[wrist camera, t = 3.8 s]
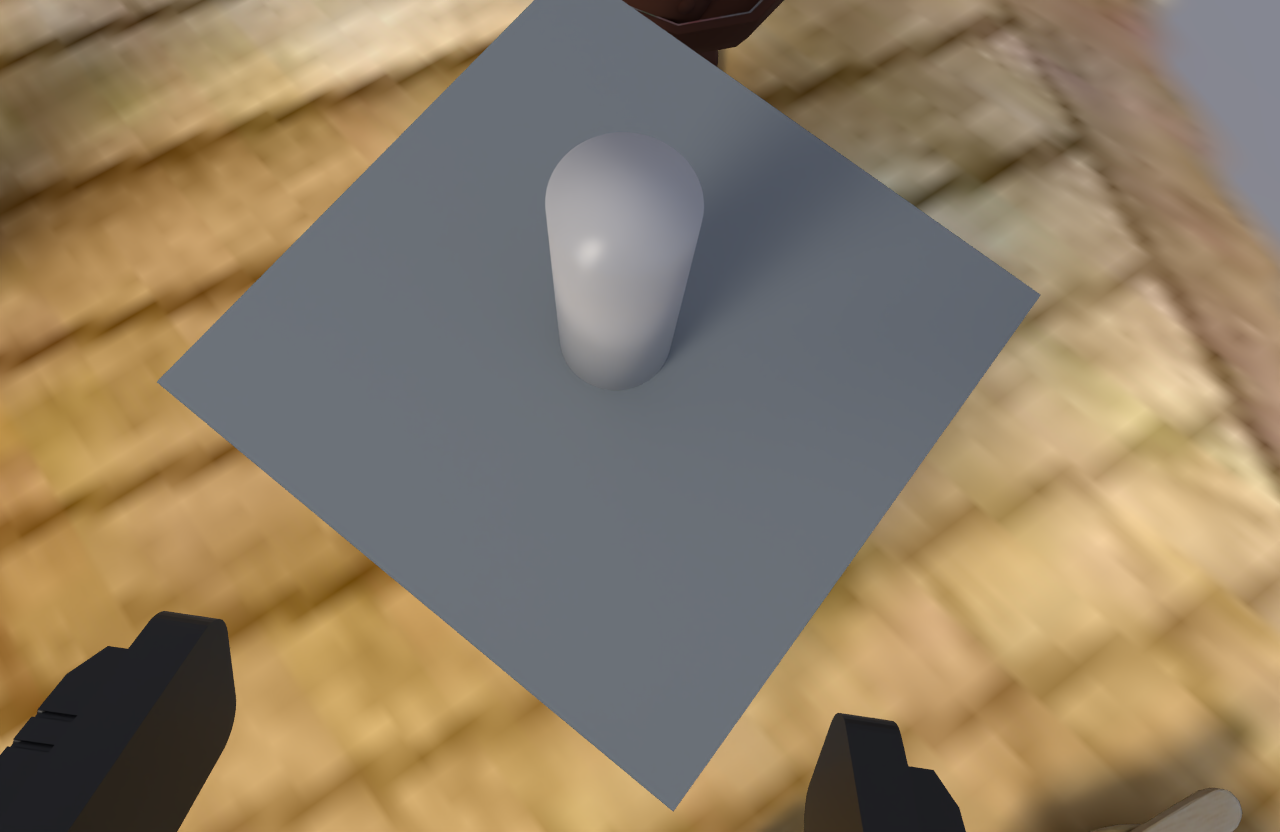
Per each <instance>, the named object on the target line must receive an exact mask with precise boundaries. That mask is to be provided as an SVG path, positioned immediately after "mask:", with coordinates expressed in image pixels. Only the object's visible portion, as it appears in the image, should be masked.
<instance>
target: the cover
mask: <svg viewBox="0 0 1280 832" xmlns="http://www.w3.org/2000/svg"><path fill="white" fill-rule="evenodd" d="M1039 297H1040V294H1039V293H1037V292H1036V291H1034V290H1033V289H1032V288H1030V287H1029V286H1027V285H1026V284H1024V283H1023V282H1022V281H1020V280H1019V279H1017V278H1016V277H1014V276H1013V275H1012V274H1010V273H1009V272H1007V271H1006V270H1005V269H1003V268H1002V267H1000V266H999V265H997V264H996V263H995V262H993V261H992V260H990V259H989V258H987V257H986V256H985V255H983V254H982V253H980V252H979V251H978V250H976V249H975V248H973V247H972V246H970V245H969V244H968V243H966V242H965V241H963V240H962V239H960V238H959V237H958V236H956V235H955V234H953V233H952V232H951V231H949V230H948V229H946V228H945V227H943V226H942V225H941V224H939V223H938V222H936V221H935V220H933V219H932V218H931V217H929V216H928V215H926V214H925V213H924V212H922V211H921V210H919V209H918V208H916V207H915V206H914V205H912V204H911V203H909V202H908V201H906V200H905V199H904V198H902V197H901V196H899V195H898V194H897V193H895V192H894V191H892V190H891V189H889V188H888V187H887V186H885V185H884V184H882V183H881V182H879V181H878V180H877V179H875V178H874V177H872V176H871V175H870V174H868V173H867V172H865V171H864V170H862V169H861V168H860V167H858V166H857V165H855V164H854V163H852V162H851V161H850V160H848V159H847V158H845V157H844V156H843V155H841V154H840V153H838V152H837V151H835V150H834V149H833V148H831V147H830V146H828V145H827V144H825V143H824V142H823V141H821V140H820V139H818V138H817V137H816V136H814V135H813V134H811V133H810V132H808V131H807V130H806V129H804V128H803V127H801V126H800V125H798V124H797V123H796V122H794V121H793V120H791V119H790V118H789V117H787V116H786V115H784V114H783V113H781V112H780V111H779V110H777V109H776V108H774V107H773V106H771V105H770V104H769V103H767V102H766V101H764V100H763V99H762V98H760V97H759V96H757V95H756V94H754V93H753V92H752V91H750V90H749V89H747V88H746V87H744V86H743V85H742V84H740V83H739V82H737V81H736V80H735V79H733V78H732V77H730V76H729V75H727V74H726V73H725V72H723V71H722V70H720V69H719V68H717V67H716V66H715V65H713V64H712V63H710V62H709V61H708V60H706V59H705V58H703V57H702V56H700V55H699V54H698V53H696V52H695V51H693V50H692V49H690V48H689V47H688V46H686V45H685V44H683V43H682V42H680V41H679V40H678V39H676V38H675V37H673V36H672V35H671V34H669V33H668V32H666V31H665V30H663V29H662V28H661V27H659V26H658V25H656V24H655V23H653V22H652V21H651V20H649V19H648V18H646V17H645V16H644V15H642V14H641V13H639V12H638V11H636V10H635V9H634V8H632V7H631V6H629V5H628V4H626V3H625V2H624V1H622V0H534V1H533V2H532V3H531V4H530V5H529V6H528V7H527V8H526V9H525V10H524V11H523V12H522V13H521V14H520V15H519V16H518V17H517V18H516V19H515V20H514V21H513V22H512V23H511V24H510V25H509V26H508V27H507V28H506V29H505V30H504V31H503V32H502V33H501V34H500V35H499V36H498V38H497V39H496V40H495V41H494V42H493V43H492V44H491V45H490V46H489V47H488V48H487V49H486V50H485V51H484V52H483V53H482V54H481V55H480V56H479V57H478V58H477V59H476V60H475V61H474V62H473V63H472V64H471V65H470V66H469V67H468V68H467V69H466V70H465V71H464V72H463V73H462V74H461V75H460V76H459V77H458V78H457V79H456V80H455V81H454V82H453V83H452V84H451V85H450V86H449V87H448V88H447V89H446V90H445V91H444V92H443V93H442V94H441V95H440V96H439V97H438V98H437V99H436V100H435V101H434V102H433V103H432V104H431V105H430V106H429V107H428V108H427V109H426V110H425V111H424V112H423V113H422V114H421V115H420V116H419V117H418V118H417V119H416V120H415V121H414V122H413V123H412V124H411V125H410V126H409V127H408V128H407V129H406V130H405V131H404V133H403V134H402V135H401V136H400V137H399V138H398V139H397V140H396V141H395V142H394V143H393V144H392V145H391V146H390V147H389V148H388V149H387V150H386V151H385V152H384V153H383V154H382V155H381V156H380V157H379V158H378V159H377V160H376V161H375V162H374V163H373V164H372V165H371V166H370V167H369V168H368V169H367V170H366V171H365V172H364V173H363V174H362V175H361V176H360V177H359V178H358V179H357V180H356V181H355V182H354V183H353V184H352V185H351V186H350V187H349V188H348V189H347V190H346V191H345V192H344V193H343V194H342V195H341V196H340V197H339V198H338V199H337V200H336V201H335V202H334V203H333V204H332V205H331V206H330V207H329V208H328V209H327V210H326V211H325V212H324V213H323V214H322V215H321V216H320V217H319V218H318V219H317V220H316V221H315V222H314V223H313V224H312V225H311V226H310V228H309V229H308V230H307V231H306V232H305V233H304V234H303V235H302V236H301V237H300V238H299V239H298V240H297V241H296V242H295V243H294V244H293V245H292V246H291V247H290V248H289V249H288V250H287V251H286V252H285V253H284V254H283V255H282V256H281V257H280V258H279V259H278V260H277V261H276V262H275V263H274V264H273V265H272V266H271V267H270V268H269V269H268V270H267V271H266V272H265V273H264V274H263V275H262V276H261V277H260V278H259V279H258V280H257V281H256V282H255V283H254V284H253V285H252V286H251V287H250V288H249V289H248V290H247V291H246V292H245V293H244V294H243V295H242V296H241V297H240V298H239V299H238V300H237V301H236V302H235V303H234V304H233V305H232V306H231V307H230V308H229V309H228V310H227V311H226V312H225V313H224V314H223V315H222V316H221V317H220V318H219V319H218V320H217V322H216V323H215V324H214V325H213V326H212V327H211V328H210V329H209V330H208V331H207V332H206V333H205V334H204V335H203V336H202V337H201V338H200V339H199V340H198V341H197V342H196V343H195V344H194V345H193V346H192V347H191V348H190V349H189V350H188V351H187V352H186V353H185V354H184V355H183V356H182V357H181V358H180V359H179V360H178V361H177V362H176V363H175V364H174V365H173V366H172V367H171V368H170V369H169V370H168V371H167V372H166V373H165V374H164V375H163V376H162V377H161V378H160V379H159V380H158V381H157V383H159V384H160V385H161V386H162V387H163V388H165V389H166V390H167V391H168V392H169V393H171V394H172V395H173V396H174V397H175V398H177V399H178V400H179V401H180V402H181V403H183V404H184V405H185V406H186V407H187V408H189V409H190V410H191V411H192V412H193V413H195V414H196V415H197V416H198V417H199V418H201V419H202V420H203V421H204V422H205V423H207V424H208V425H209V426H210V427H211V428H213V429H214V430H215V431H216V432H217V433H219V434H220V435H221V436H222V437H223V438H225V439H226V440H227V441H228V442H229V443H231V444H232V445H233V446H234V447H235V448H237V449H238V450H239V451H240V452H241V453H243V454H244V455H245V456H246V457H248V458H249V459H250V460H251V461H252V462H254V463H255V464H256V465H257V466H258V467H260V468H261V469H262V470H263V471H264V472H266V473H267V474H268V475H269V476H270V477H272V478H273V479H274V480H275V481H276V482H278V483H279V484H280V485H281V486H282V487H284V488H285V489H286V490H287V491H288V492H290V493H291V494H292V495H293V496H294V497H296V498H297V499H298V500H299V501H300V502H302V503H303V504H304V505H305V506H306V507H308V508H309V509H310V510H311V511H312V512H314V513H315V514H316V515H317V516H318V517H320V518H321V519H322V520H323V521H324V522H326V523H327V524H328V525H329V526H330V527H332V528H333V529H334V530H335V531H336V532H338V533H339V534H340V535H341V536H342V537H344V538H345V539H346V540H347V541H349V542H350V543H351V544H352V545H353V546H355V547H356V548H357V549H358V550H359V551H361V552H362V553H363V554H364V555H365V556H367V557H368V558H369V559H370V560H371V561H373V562H374V563H375V564H376V565H377V566H379V567H380V568H381V569H382V570H383V571H385V572H386V573H387V574H388V575H389V576H391V577H392V578H393V579H394V580H395V581H397V582H398V583H399V584H400V585H401V586H403V587H404V588H405V589H406V590H407V591H409V592H410V593H411V594H412V595H413V596H415V597H416V598H417V599H418V600H419V601H421V602H422V603H423V604H424V605H425V606H427V607H428V608H429V609H430V610H431V611H433V612H434V613H435V614H436V615H437V616H439V617H440V618H441V619H442V620H443V621H445V622H446V623H447V624H448V625H450V626H451V627H452V628H453V629H454V630H456V631H457V632H458V633H459V634H460V635H462V636H463V637H464V638H465V639H466V640H468V641H469V642H470V643H471V644H472V645H474V646H475V647H476V648H477V649H478V650H480V651H481V652H482V653H483V654H484V655H486V656H487V657H488V658H489V659H490V660H492V661H493V662H494V663H495V664H496V665H498V666H499V667H500V668H501V669H502V670H504V671H505V672H506V673H507V674H508V675H510V676H511V677H512V678H513V679H514V680H516V681H517V682H518V683H519V684H520V685H522V686H523V687H524V688H525V689H526V690H528V691H529V692H530V693H531V694H532V695H534V696H535V697H536V698H537V699H538V700H540V701H541V702H542V703H543V704H544V705H546V706H547V707H548V708H549V709H551V710H552V711H553V712H554V713H555V714H557V715H558V716H559V717H560V718H561V719H563V720H564V721H565V722H566V723H567V724H569V725H570V726H571V727H572V728H573V729H575V730H576V731H577V732H578V733H579V734H581V735H582V736H583V737H584V738H585V739H587V740H588V741H589V742H590V743H591V744H593V745H594V746H595V747H596V748H597V749H599V750H600V751H601V752H602V753H603V754H605V755H606V756H607V757H608V758H609V759H611V760H612V761H613V762H614V763H615V764H617V765H618V766H619V767H620V768H621V769H623V770H624V771H625V772H626V773H627V774H629V775H630V776H631V777H632V778H633V779H635V780H636V781H637V782H638V783H639V784H641V785H642V786H643V787H644V788H645V789H647V790H648V791H649V792H650V793H651V794H653V795H654V796H655V797H656V798H658V799H659V800H660V801H661V802H662V803H664V804H665V805H666V806H667V807H668V808H670V809H671V810H672V811H674V810H675V809H676V807H677V806H678V804H679V803H680V802H681V800H682V799H683V797H684V796H685V794H686V793H687V792H688V790H689V789H690V787H691V786H692V785H693V783H694V782H695V780H696V779H697V778H698V776H699V775H700V773H701V772H702V771H703V769H704V768H705V766H706V765H707V764H708V762H709V761H710V759H711V758H712V756H713V755H714V754H715V752H716V751H717V749H718V748H719V747H720V745H721V744H722V742H723V741H724V740H725V738H726V737H727V735H728V734H729V733H730V731H731V730H732V728H733V727H734V726H735V724H736V723H737V721H738V720H739V719H740V717H741V716H742V714H743V713H744V711H745V710H746V709H747V707H748V706H749V704H750V703H751V702H752V700H753V699H754V697H755V696H756V695H757V693H758V692H759V690H760V689H761V688H762V686H763V685H764V683H765V682H766V681H767V679H768V678H769V676H770V675H771V674H772V672H773V671H774V669H775V668H776V666H777V665H778V664H779V662H780V661H781V659H782V658H783V657H784V655H785V654H786V652H787V651H788V650H789V648H790V647H791V645H792V644H793V643H794V641H795V640H796V638H797V637H798V636H799V634H800V633H801V631H802V630H803V629H804V627H805V626H806V624H807V623H808V621H809V620H810V619H811V617H812V616H813V614H814V613H815V612H816V610H817V609H818V607H819V606H820V605H821V603H822V602H823V600H824V599H825V598H826V596H827V595H828V593H829V592H830V591H831V589H832V588H833V586H834V585H835V583H836V582H837V581H838V579H839V578H840V576H841V575H842V574H843V572H844V571H845V569H846V568H847V567H848V565H849V564H850V562H851V561H852V560H853V558H854V557H855V555H856V554H857V553H858V551H859V550H860V548H861V547H862V546H863V544H864V543H865V541H866V540H867V538H868V537H869V536H870V534H871V533H872V531H873V530H874V529H875V527H876V526H877V524H878V523H879V522H880V520H881V519H882V517H883V516H884V515H885V513H886V512H887V510H888V509H889V508H890V506H891V505H892V503H893V502H894V501H895V499H896V498H897V496H898V495H899V493H900V492H901V491H902V489H903V488H904V486H905V485H906V484H907V482H908V481H909V479H910V478H911V477H912V475H913V474H914V472H915V471H916V470H917V468H918V467H919V465H920V464H921V463H922V461H923V460H924V458H925V457H926V456H927V454H928V453H929V451H930V450H931V448H932V447H933V446H934V444H935V443H936V441H937V440H938V439H939V437H940V436H941V434H942V433H943V432H944V430H945V429H946V427H947V426H948V425H949V423H950V422H951V420H952V419H953V418H954V416H955V415H956V413H957V412H958V410H959V409H960V408H961V406H962V405H963V403H964V402H965V401H966V399H967V398H968V396H969V395H970V394H971V392H972V391H973V389H974V388H975V387H976V385H977V384H978V382H979V381H980V380H981V378H982V377H983V375H984V374H985V373H986V371H987V370H988V368H989V367H990V365H991V364H992V363H993V361H994V360H995V358H996V357H997V356H998V354H999V353H1000V351H1001V350H1002V349H1003V347H1004V346H1005V344H1006V343H1007V342H1008V340H1009V339H1010V337H1011V336H1012V335H1013V333H1014V332H1015V330H1016V329H1017V328H1018V326H1019V325H1020V323H1021V322H1022V320H1023V319H1024V318H1025V316H1026V315H1027V313H1028V312H1029V311H1030V309H1031V308H1032V306H1033V305H1034V304H1035V302H1036V301H1037V299H1038V298H1039Z"/></svg>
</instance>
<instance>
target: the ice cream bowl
mask: <svg viewBox="0 0 1280 832" xmlns="http://www.w3.org/2000/svg"><path fill="white" fill-rule="evenodd" d="M622 1H624V2H625V3H626V4H628V5H629V6H631V7H632V8H634V9H635V10H636V11H638V12H639V13H641V14H642V15H644V16H645V17H646V18H648V19H649V20H651V21H652V22H653V23H655V24H656V25H658V26H659V27H661V28H662V29H663V30H665V31H666V32H668V33H669V34H671V35H672V36H673V37H675V38H676V39H678V40H679V41H680V42H682V43H683V44H685V45H686V46H688V47H689V48H690V49H692V50H693V51H695V52H696V53H698V54H699V55H700V56H702V57H703V58H705V59H706V60H708V61H709V62H710V63H712V64H713V65H715V66H716V67H717V63H718V50H720V49H726V48H732V47H736V46H738V45H739V44H740V43H741V42H743V41H744V40H745V39H747V38H748V37H749V36H750V35H751V34H752V33H753V32H754V31H755V30H756V28H757V27H758V26H759V25H760V24H761V23H762V22H763V21H764V20H765V19H766V18H767V17H768V16H769V15H770V14H771V13H772V12H773V11H774V10H775V9H776V8H777V7H778V6H779V5H780V4H781V3H782V2H783V1H784V0H622Z"/></svg>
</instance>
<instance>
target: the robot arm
mask: <svg viewBox="0 0 1280 832" xmlns="http://www.w3.org/2000/svg"><path fill="white" fill-rule="evenodd" d="M235 711H236V695H235V687H234V679H233V671H232V663H231V655H230V647H229V639H228V631H227V627H226V624H225V622H224V621H223V620H221V619H215V618H208V617H201V616H195V615H188V614H181V613H174V612H168V611H162V612H160V613H158V614H156V615H155V616H154V617H153V618H152V619H151V620H150V621H149V622H148V624H147V625H146V626H145V628H144V629H143V630H142V632H141V633H140V634H139V636H138V637H137V638H136V639H135V641H134V642H133V643H132V645H131V646H130V647H129V649H125V648H118V647H111V646H107V647H106V648H104V649H103V650H101V651H100V652H99V653H97V654H96V655H94V656H93V657H91V658H90V659H88V660H87V661H85V662H84V663H82V664H81V665H79V666H78V667H76V668H75V669H73V670H72V671H71V672H69V673H68V674H66V675H65V677H64V678H63V679H62V680H61V682H60V683H59V684H58V685H57V686H56V688H55V689H54V690H53V691H52V693H51V694H50V695H49V696H48V697H47V699H46V700H45V701H44V702H43V704H42V705H41V706H40V707H39V708H38V712H37V715H36V716H35V717H31V718H30V719H29V721H28V722H27V723H26V724H25V725H24V727H23V728H22V729H21V730H20V732H19V733H18V734H17V735H16V736H15V738H14V741H13V744H12V746H11V747H8V746H7V747H6V749H5V750H4V751H3V752H2V754H1V755H0V832H177V831H178V829H179V828H180V826H181V824H182V822H183V821H184V819H185V817H186V815H187V813H188V812H189V810H190V808H191V806H192V805H193V803H194V801H195V799H196V797H197V796H198V794H199V792H200V790H201V789H202V787H203V785H204V783H205V782H206V780H207V778H208V776H209V774H210V773H211V771H212V769H213V767H214V766H215V764H216V762H217V760H218V759H219V757H220V755H221V753H222V751H223V749H224V748H225V745H226V743H227V741H228V738H229V736H230V733H231V730H232V726H233V722H234V717H235ZM804 832H966V831H965V827H964V823H963V820H962V816H961V813H960V809H959V807H958V805H957V804H956V802H955V801H954V800H953V798H952V797H951V795H950V794H949V792H948V791H947V789H946V788H945V786H944V785H943V783H942V782H941V780H940V779H939V778H938V776H937V775H936V773H935V772H934V770H929V769H923V768H916V767H909V766H908V764H907V759H906V755H905V751H904V746H903V742H902V738H901V734H900V730H899V728H898V726H897V724H896V723H895V722H894V721H889V720H882V719H876V718H869V717H862V716H855V715H849V714H842V713H837V714H836V715H835V716H834V718H833V720H832V722H831V725H830V728H829V730H828V733H827V736H826V739H825V742H824V745H823V747H822V750H821V753H820V756H819V759H818V761H817V764H816V767H815V770H814V773H813V776H812V778H811V781H810V784H809V787H808V791H807V796H806V803H805V813H804Z"/></svg>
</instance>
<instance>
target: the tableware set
mask: <svg viewBox="0 0 1280 832" xmlns="http://www.w3.org/2000/svg"><path fill="white" fill-rule="evenodd" d="M1241 817H1242V810H1241V806H1240V802H1239V800H1238V799H1237V798H1236V797H1235V796H1234V795H1233V794H1232V793H1231V792H1230V791H1228V790H1224V789H1218V788H1208V789H1203V790H1199V791H1197V792H1195V793H1194V794H1192V795H1190V796H1189V797H1187V798H1185V799H1183V800H1182V801H1180V802H1178V803H1176V804H1175V805H1173V806H1171V807H1170V808H1168V809H1166V810H1165V811H1163V812H1162V813H1160V814H1159V815H1157V816H1155V817H1154V818H1152V819H1151V820H1149V821H1148V822H1146V823H1144V824H1142V825H1141V824H1123V825H1113V826H1108V827H1104V828H1100V829H1096V830H1092V831H1089V832H1233V831H1234V830H1235V829H1236V828H1237V827H1238V825H1239V823H1240V820H1241Z"/></svg>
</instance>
